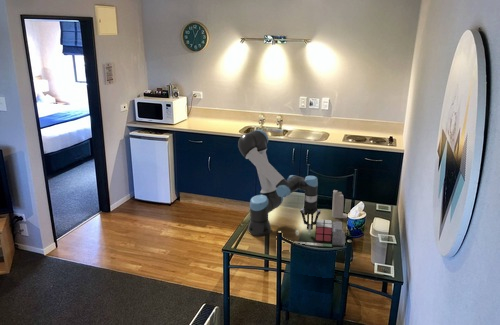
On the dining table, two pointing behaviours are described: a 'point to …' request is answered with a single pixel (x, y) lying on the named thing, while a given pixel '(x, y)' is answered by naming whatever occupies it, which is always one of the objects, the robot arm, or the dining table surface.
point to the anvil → (338, 234)
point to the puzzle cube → (323, 230)
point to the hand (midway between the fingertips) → (309, 233)
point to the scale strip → (315, 244)
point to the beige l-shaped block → (338, 205)
